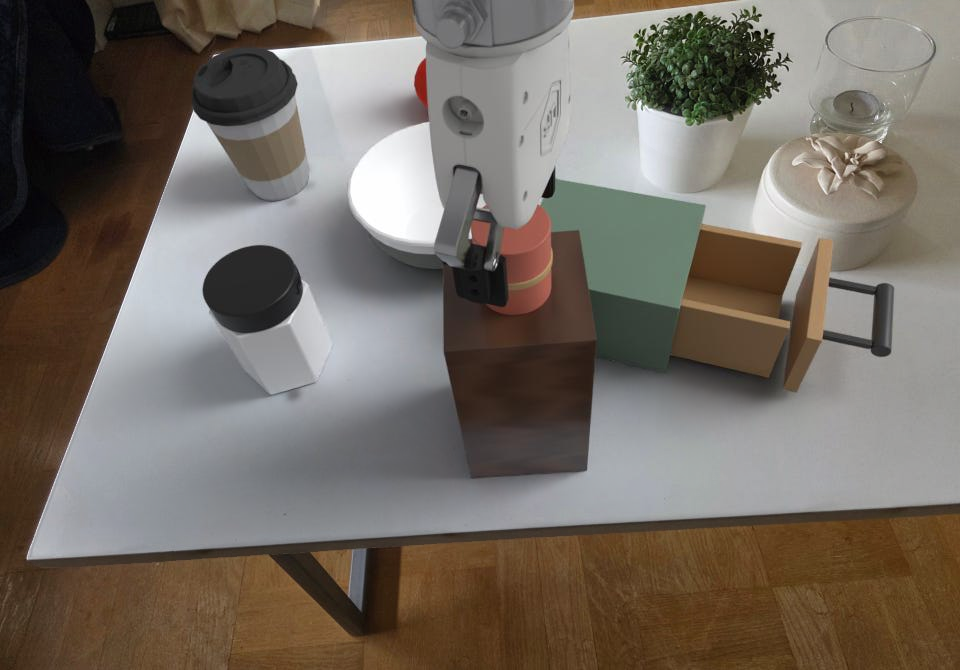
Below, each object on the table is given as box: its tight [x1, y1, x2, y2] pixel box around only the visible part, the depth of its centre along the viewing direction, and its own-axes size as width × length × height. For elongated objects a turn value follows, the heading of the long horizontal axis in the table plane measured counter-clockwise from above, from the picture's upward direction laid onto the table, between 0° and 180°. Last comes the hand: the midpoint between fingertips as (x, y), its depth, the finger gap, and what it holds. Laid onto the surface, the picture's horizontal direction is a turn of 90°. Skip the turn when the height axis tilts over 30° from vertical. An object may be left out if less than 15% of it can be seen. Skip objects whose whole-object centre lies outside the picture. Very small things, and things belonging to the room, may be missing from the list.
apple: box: [413, 57, 428, 109], centre depth 91 cm, size 8×8×7 cm
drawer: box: [670, 223, 895, 393], centre depth 65 cm, size 19×11×8 cm, turn 70°
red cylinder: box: [471, 204, 553, 315], centre depth 48 cm, size 5×5×6 cm
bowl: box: [346, 121, 486, 270], centre depth 77 cm, size 19×19×8 cm
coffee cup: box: [190, 46, 310, 202], centre depth 82 cm, size 11×11×15 cm
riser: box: [442, 230, 597, 479], centre depth 58 cm, size 10×10×19 cm
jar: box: [201, 244, 334, 396], centre depth 67 cm, size 9×8×12 cm
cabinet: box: [539, 178, 707, 374], centre depth 69 cm, size 15×13×10 cm
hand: (508, 242), depth 47 cm, fingers open, 9 cm apart
